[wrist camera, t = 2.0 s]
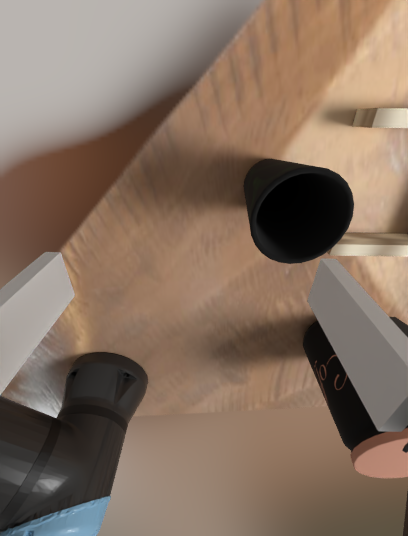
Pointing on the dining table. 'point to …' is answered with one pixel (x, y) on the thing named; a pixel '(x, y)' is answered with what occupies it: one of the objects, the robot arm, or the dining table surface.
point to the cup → (296, 209)
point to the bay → (375, 241)
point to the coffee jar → (354, 414)
